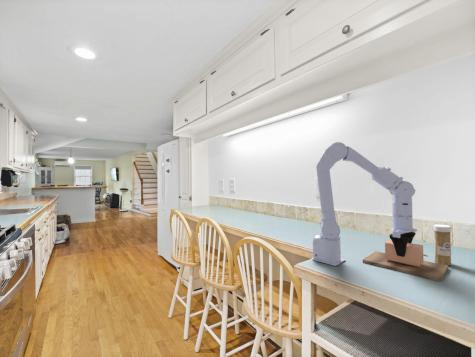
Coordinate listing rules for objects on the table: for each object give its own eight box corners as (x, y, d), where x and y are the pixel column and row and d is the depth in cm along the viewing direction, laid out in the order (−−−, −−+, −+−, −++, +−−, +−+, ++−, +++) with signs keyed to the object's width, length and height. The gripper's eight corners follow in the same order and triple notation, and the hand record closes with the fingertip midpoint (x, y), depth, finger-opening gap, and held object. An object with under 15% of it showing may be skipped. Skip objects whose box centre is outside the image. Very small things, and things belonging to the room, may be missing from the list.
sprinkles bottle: (444, 266, 81) (443, 227, 81) (431, 261, 85) (430, 224, 85) (455, 265, 82) (454, 226, 82) (441, 260, 86) (440, 223, 86)
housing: (385, 259, 85) (384, 242, 85) (389, 255, 88) (389, 239, 88) (419, 266, 78) (419, 248, 78) (423, 262, 81) (423, 245, 81)
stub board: (362, 262, 87) (362, 251, 87) (375, 253, 96) (375, 243, 96) (440, 281, 71) (440, 267, 71) (448, 268, 79) (448, 256, 79)
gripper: (410, 219, 75) (411, 262, 75) (421, 213, 85) (422, 251, 85) (385, 217, 80) (386, 257, 81) (398, 211, 90) (399, 247, 90)
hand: (403, 254), depth 83 cm, fingers closed on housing, 5 cm apart
